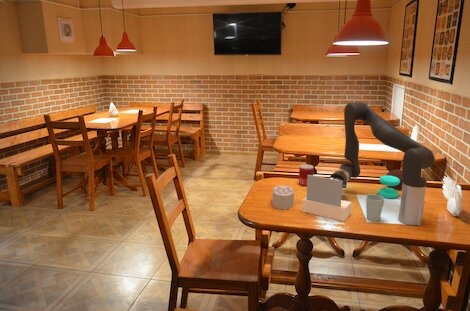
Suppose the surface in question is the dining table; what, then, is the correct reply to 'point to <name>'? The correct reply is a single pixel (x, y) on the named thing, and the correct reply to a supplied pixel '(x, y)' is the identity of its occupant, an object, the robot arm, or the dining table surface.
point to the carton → (327, 209)
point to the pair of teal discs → (389, 182)
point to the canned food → (305, 174)
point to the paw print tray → (283, 197)
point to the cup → (374, 207)
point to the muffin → (399, 175)
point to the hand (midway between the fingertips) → (327, 187)
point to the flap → (324, 190)
